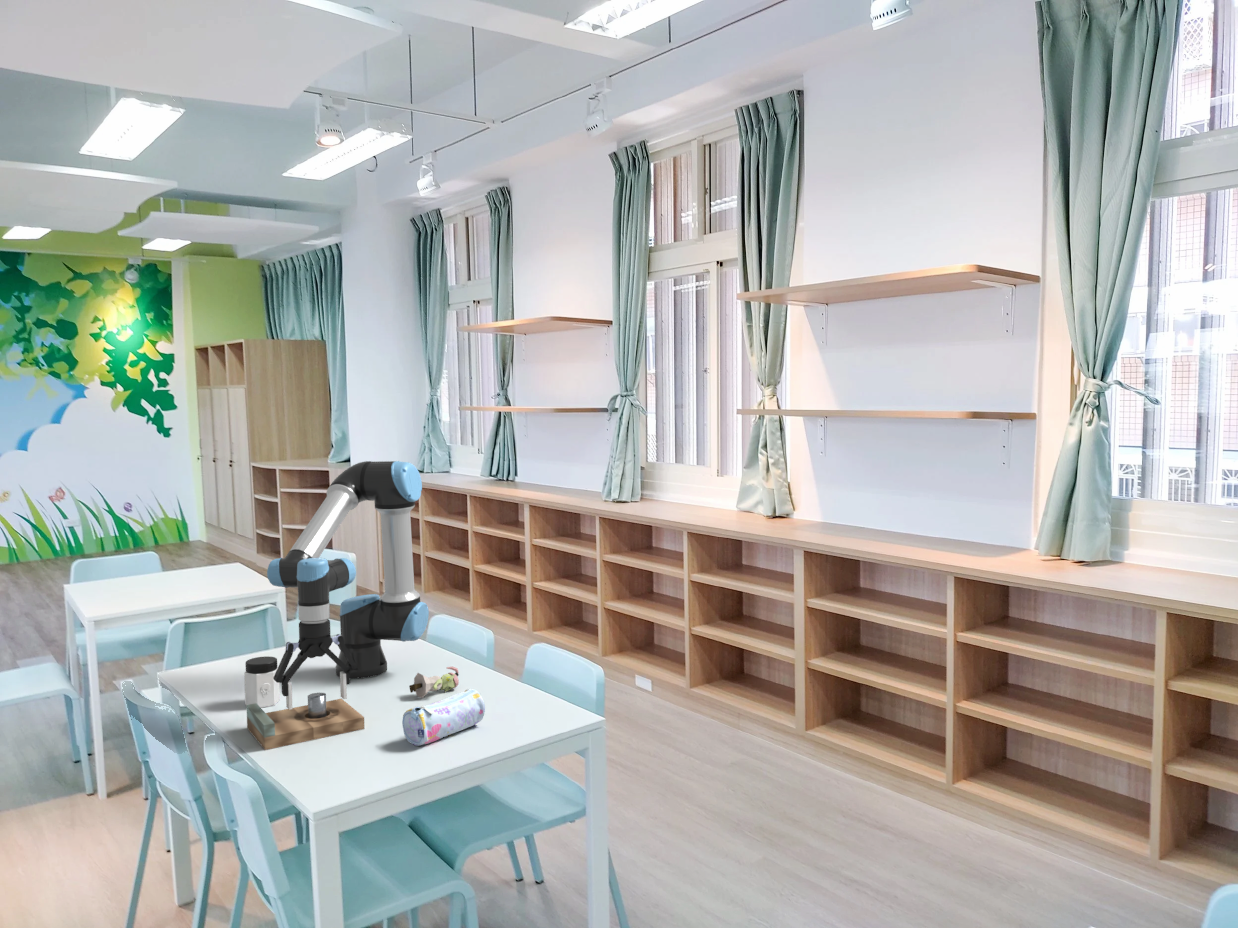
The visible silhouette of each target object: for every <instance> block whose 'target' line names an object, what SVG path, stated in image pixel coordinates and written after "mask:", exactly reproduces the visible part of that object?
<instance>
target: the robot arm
mask: <svg viewBox="0 0 1238 928" xmlns="http://www.w3.org/2000/svg"><path fill="white" fill-rule="evenodd" d="M422 482H423V481H422V477H421V474H420V472H419V469H417V467H416V465H415V464H413V463H412V462H409V461H408V462H407V461H400V460H398V461H397V460H393V461H392V460H390V461H389V460H388V461H387V460H386V461H383V460H382V461H372V460H371V461H370V460H369V461H367V460H365V461H360V462H357V463H355V464H353V465H351V466H350V467H348V468H346V469H345V470H344V471H342V472H341V473H340V474H338V476H337V477H336V478H335V479H334V480H333V481H332V482H331V484H330V485H329V487H328V488H327V489H326V497H325V499H324V500H323V501H322V503H321V505H320V506H319V508H318V509H317V510H316V511H315V513H314V515H313V516H312V518H311V519H310V521H309V522H308V524H307V525H306V526H305V528H304V529H303V531H302V532H301V534H300V535H299V537H298V538H297V539H296V541H295V543H293V545H292V547H291V548H290V550H289V551H288V553H287V554H286V555H285V556H284V558H283V557H280V558H274V559H272V560H271V561H270V562H269V564H268V567H267V571H266V575H267V577H266V578H267V579H268V582H269V583H270V585H272V586H275V587H280V588H295V589H296V588H297V600H298V601H297V605H298V606H297V607H298V610H297V611H298V612H297V613H298V620H299V622H298V641H297V642H291V641H286V644H285V651H284V654H283V656H282V658H281V659H280V662H279V664H278V665H277V667H278V669H277V671H276V673H275V675H274V678H273V679H274V680H275V681H276V682H277V683H279V684H280V683H281V695H282V696H283V697H285V703H286V709H289V710H291V709H292V708H293V688H292V687H293V686H292V684H293V683H292V682H291V679H292V678H293V677H294V676H295V674H296V673H297V671H298V670H299V669H300V668H301V665H303V663H304V662H306V660H307V659H308V658H309V659H315V658H316V657H320V658H322V657H323V656H325V655H326V656H328V657H329V658H330V659H331V660H332V661H333V662H334V663H335V675H336V676H337V677H339V682H340V683H339V684H340V685H339V689H340V691H339V692H340V693H339V694H340V697H341V699H343V700H347V699H348V696H347V695H348V693H347V686H348V685H350V684H351V679H352V680H353V679H355V680H357V679H367V678H373V677H377V676H380V675H382V674H384V673H386V672H387V671H388V662H387V658H386V656H385V652H384V650H383V648H382V643H381V641H382V640H383V641H396V642H397V641H398V642H399V641H400V642H403V643H404V642H415V641H417V640H420V638H421V637H422V636H423V634H424V633H425V631H426V628H427V627H428V626H427V625H428V623H429V616H430V615H429V614H430V612H429V607H428V605H427V603H426V602H424V601H421V593H419V592H418V591H417V590H416V589H415V578H414V577H415V575H414V572H415V571H414V557H413V555H414V554H413V542H412V541H413V540H412V522H411V521H412V519H411V517H412V516H411V511H412V510H413V509H414V508H415V506H416V501H419V499H420V498H421V496H422V490H423V483H422ZM364 501H373V502H374V503H373V504H374V509H375V510H376V511H377V512H378V513H379V514H380V525H381V526H380V527H381V529H380V530H381V531H380V532H381V543H382V544H381V545H382V560H383V561H382V562H383V576H384V579H383V580H384V593H382V595H381V596H380V595H379V594H377V593H373V594H372V593H369V594H363V595H357V596H353V597H348V598H346V599H344V600H343V601H341V603H340V606H339V621H340V623H339V625H340V628H339V629H340V633H337V634H336V635H335V636H331V620H330V617H331V614H330V613H331V609H330V607H331V605H330V592H333V591H336V590H339V589H343V588H345V587H346V586H348V585H350V584H352V583H353V582H354V580H355V578H356V576H357V570H356V567H355V564H354V563H353V562H352V561H351V560H350V559H348V558H347V557H346V558H345V557H340V558H339V557H338V558H335V559H331V560H329V559H326V558H323V557H320V556H321V555H322V554H323V552H324V551H325V549H326V547H327V546H328V545H329V542H330V541H331V539H332V538H333V537H334V535H335V534H336V533H337V531H338V529H339V527H340V526H341V524H342V523H343V522H344V520H345V518H346V517H347V516H348V514H349V512H350V511H352V510H354V509H356V508H357V506H358V505H359V503H361V502H364ZM333 643H334V644H335V645H336V646H337V647H338V648H339V654H338V656H337V655H336V654H335V653H334V652H333V651H332V650H331V649H330V647H331V646H332V644H333ZM297 648H298V649H299V650H300V651H299V652H298V654H297V656H296V658H295V659H294V661H293V662H292V663H291V665H289V663H290V662H291V659H292V657H293V654H294V652H295V651H296V650H297ZM288 666H289V667H288Z"/></svg>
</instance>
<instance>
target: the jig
mask: <svg viewBox="0 0 1238 928" xmlns="http://www.w3.org/2000/svg"><path fill="white" fill-rule="evenodd" d="M326 713H327V716H326V717H323V718H318V719H309V718H308V704H306V705H302V706H301V705H300V706H297V707H292V709H291V710H289V709H288V708H285V709H279V710H274V711H270V712H265V710H263V708H260V707H259V705H258V704H257V703H255V704H249V705H247V706H246V728H247V731H249V732H250V733H251V734H252V736H253V738H254V739H256V741H257V742H258V743H259V745H260V746H261V747H262V748H263V750H264V751H267V750H272V749H276V748H282V747H286V746H290V745H295V744H302V743H304V742H309V741H314V740H318V739H323V738H328V737H333V736H336V735H337V736H338V735H341V734H346V733H352V732H356V731H357V732H358V731H361V730H365V716H363V715H362V714H361V713H360V712H358V711H357V710H356V709H355V708H354V707H353V706H351V705H350V704H349V703H347V702H346V701H345V699H343V698H337V699H332V700H326Z"/></svg>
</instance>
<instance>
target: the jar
mask: <svg viewBox="0 0 1238 928" xmlns="http://www.w3.org/2000/svg"><path fill="white" fill-rule="evenodd" d="M277 669H278V658H277V657H275V656H269V655H268V656H258V657H252V658H249V659H247V660H246V661H245V671H244V675H243V676H244V700H245V701H244V704H245V707H247V705H249V704H255V703H257V704H258V705H259V707H260V708H261V709H263V708H269V707H273V706H276V704H278V703H279V701H281V697H280V696H281V694H280V693H281V691H280V683H277V682H276V681H275V680H274V679H273V678H274V675H275V673H276V671H277Z"/></svg>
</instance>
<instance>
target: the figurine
mask: <svg viewBox="0 0 1238 928" xmlns="http://www.w3.org/2000/svg"><path fill="white" fill-rule="evenodd" d="M446 669H448V670H452V671H454V672H455V673H454V672H452V671H450V672H448V673H445V674H443V675H441V676H439V675H433V676H430V677H427V676H426V675H425V674H421V673H419V672H417V673H416V674H415V676H414V678H413V684H410V685H409V692H410V693H411V694H412V693H413V692H414V693H415V694H416V697H418V698H421V699H423V698H424V697H425V696H426V695H427V694H428V693H429V692H437V691H439V690H440V691H444V693H445V692H446V691H447V692H449V691H452V690H453V689H456V688H457V687H458V685H459V683H460V682H459V680H460V679H459V678H458V677H459V675H460V674H459V673H460V672H459V669H458V668H457V667H454V666H447V667H446ZM447 692H446V693H447Z"/></svg>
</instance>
